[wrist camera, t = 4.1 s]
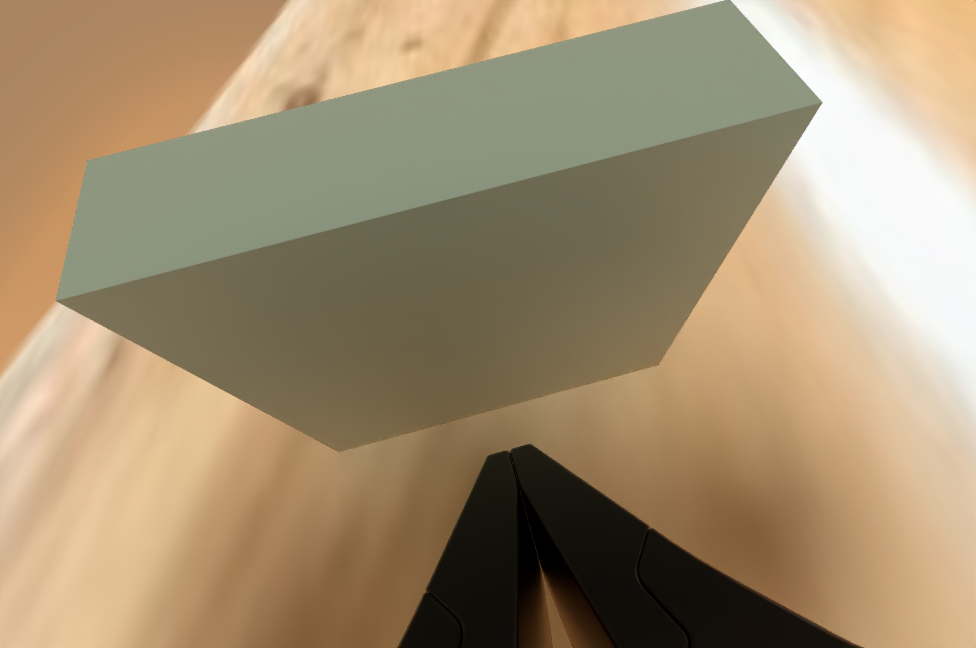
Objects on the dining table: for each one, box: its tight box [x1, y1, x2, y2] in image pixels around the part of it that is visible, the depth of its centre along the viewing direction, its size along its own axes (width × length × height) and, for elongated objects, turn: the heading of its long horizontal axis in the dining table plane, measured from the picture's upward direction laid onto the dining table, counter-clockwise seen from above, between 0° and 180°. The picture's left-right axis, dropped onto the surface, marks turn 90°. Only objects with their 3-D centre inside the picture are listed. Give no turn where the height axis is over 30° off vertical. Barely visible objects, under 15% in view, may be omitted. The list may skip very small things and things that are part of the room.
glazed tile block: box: [56, 0, 822, 452], centre depth 13 cm, size 3×12×11 cm, turn 104°
